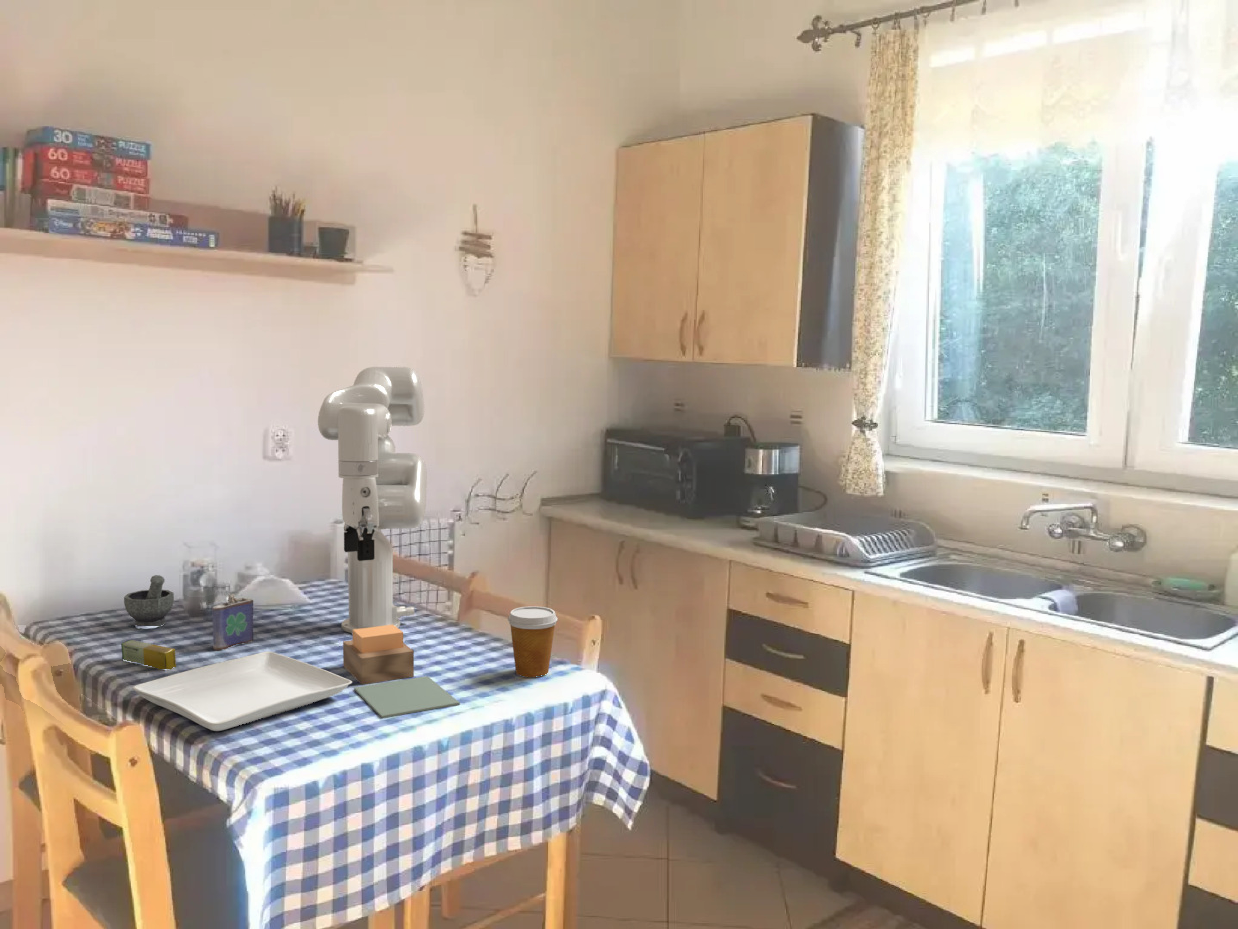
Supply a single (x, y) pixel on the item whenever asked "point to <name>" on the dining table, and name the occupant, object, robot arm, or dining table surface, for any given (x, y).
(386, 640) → the orange block
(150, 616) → the mortar and pestle
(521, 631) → the disposable coffee cup
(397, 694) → the rubber mat
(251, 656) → the square plate
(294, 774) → the dining table surface
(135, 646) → the medication box
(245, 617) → the flask
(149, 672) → the dining table surface
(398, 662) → the walnut block
